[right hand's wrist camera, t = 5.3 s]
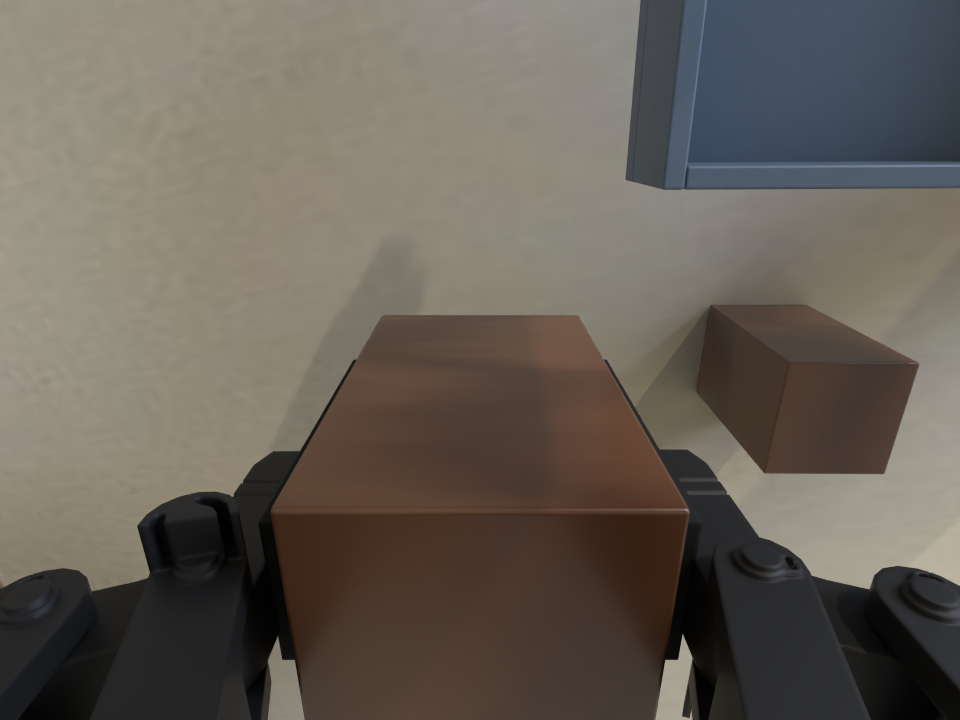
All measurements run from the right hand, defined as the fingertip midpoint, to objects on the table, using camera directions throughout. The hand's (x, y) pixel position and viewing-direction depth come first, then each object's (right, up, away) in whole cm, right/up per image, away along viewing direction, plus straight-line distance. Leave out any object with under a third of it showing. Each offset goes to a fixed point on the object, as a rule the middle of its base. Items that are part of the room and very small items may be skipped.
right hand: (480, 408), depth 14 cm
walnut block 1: (0, 0, 0) cm, 0 cm away
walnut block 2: (+14, +2, +15) cm, 21 cm away
